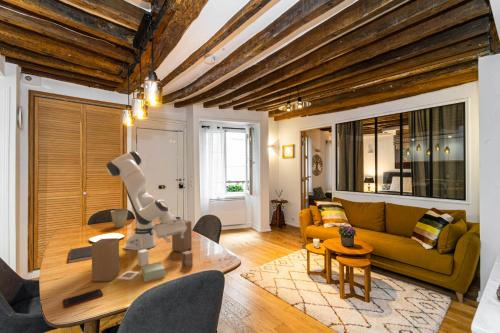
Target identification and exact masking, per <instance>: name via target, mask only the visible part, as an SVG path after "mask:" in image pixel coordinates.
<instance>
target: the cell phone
mask: <svg viewBox="0 0 500 333" xmlns="http://www.w3.org/2000/svg"><path fill="white" fill-rule="evenodd" d="M103 296H104V292H103V291H102V289H101V288H99V289H94V290H91V291H88V292H84V293H81V294H77V295H75V296H70V297H67V298H64V299H63V300H62V306H63V309H68V308H71V307H75V306H78V305H80V304H83V303H88V302H89V301H93V300H97V299H100V298H102V297H103Z"/></svg>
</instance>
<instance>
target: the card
mask: <svg viewBox="0 0 500 333" xmlns="http://www.w3.org/2000/svg"><path fill="white" fill-rule="evenodd" d="M140 273H141V272H140V271H130V270H128V271H124V272H123V273H121V275H119V276H117V278H116V280H127V281H128V280H129V281H131V280H133V279H134V278H136V277H137V276H138V275H139V274H140Z"/></svg>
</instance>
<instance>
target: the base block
mask: <svg viewBox="0 0 500 333" xmlns="http://www.w3.org/2000/svg"><path fill="white" fill-rule="evenodd" d="M165 270H166V269H165V267H164V265H163V263H162V262H161V261H158V262H154V263H149V264H146V265H143V266H141V277H142V278H143V281H144V282H145V283H146V282H150V281H153V280H154V281H155V280H157V279H158V280H159V279H161V278H165V276H166V274H165V272H166V271H165Z"/></svg>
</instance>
